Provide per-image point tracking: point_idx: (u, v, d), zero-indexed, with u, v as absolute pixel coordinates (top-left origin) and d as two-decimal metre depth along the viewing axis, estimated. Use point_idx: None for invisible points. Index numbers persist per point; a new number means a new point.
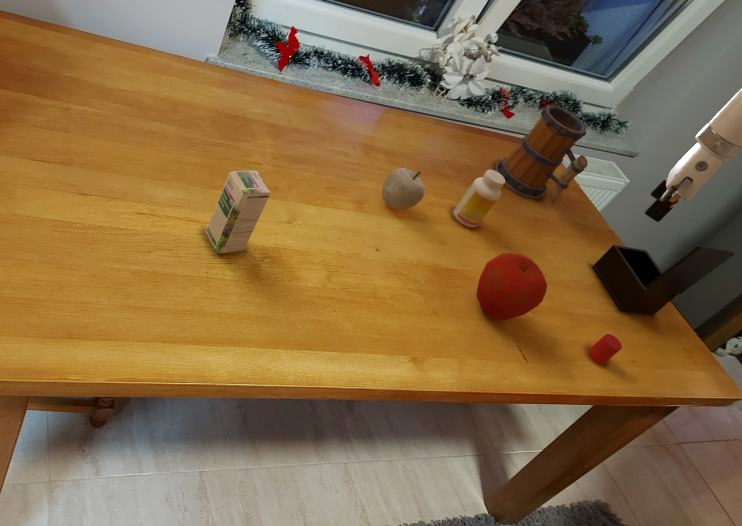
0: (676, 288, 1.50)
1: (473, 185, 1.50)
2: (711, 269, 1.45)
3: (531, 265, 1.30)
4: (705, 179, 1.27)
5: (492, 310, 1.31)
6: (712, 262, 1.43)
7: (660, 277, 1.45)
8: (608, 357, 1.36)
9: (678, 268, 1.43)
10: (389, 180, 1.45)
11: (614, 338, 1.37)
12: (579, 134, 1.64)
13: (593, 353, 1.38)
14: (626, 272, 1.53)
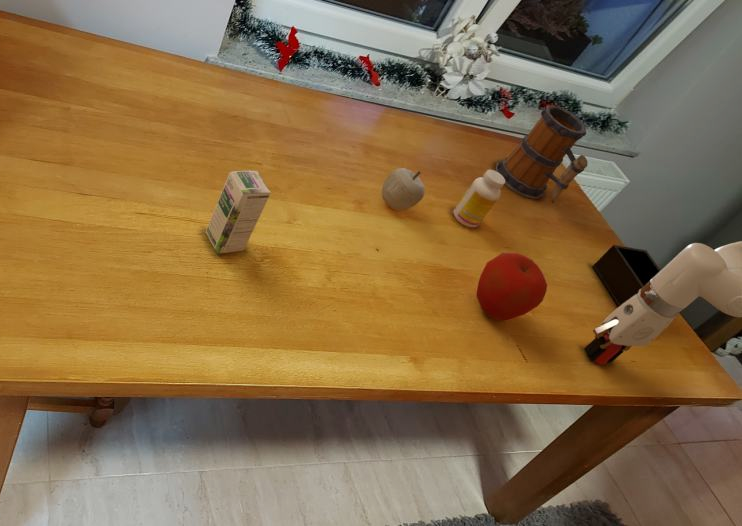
0: None
1: (473, 185, 1.50)
2: None
3: (531, 265, 1.30)
4: (628, 324, 1.27)
5: (492, 310, 1.31)
6: None
7: None
8: (608, 357, 1.36)
9: None
10: (389, 180, 1.45)
11: None
12: (579, 134, 1.64)
13: None
14: (626, 272, 1.53)
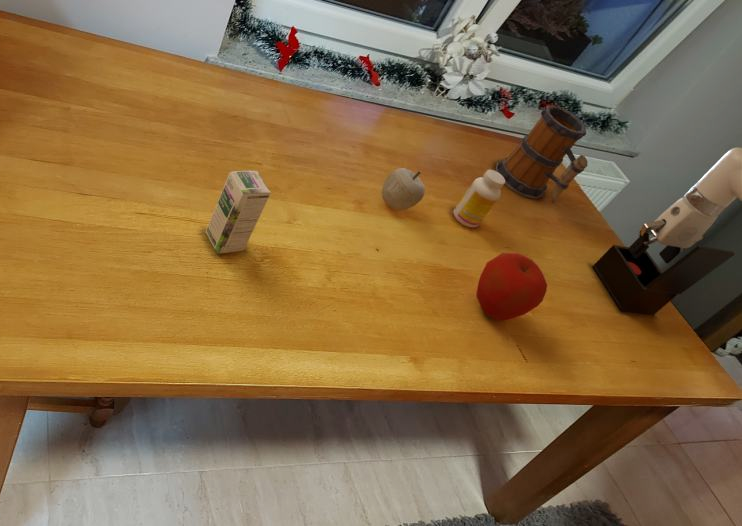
0: (676, 288, 1.50)
1: (473, 185, 1.50)
2: (711, 269, 1.45)
3: (531, 265, 1.30)
4: (675, 223, 1.44)
5: (492, 310, 1.31)
6: (712, 262, 1.43)
7: (660, 277, 1.45)
8: None
9: (678, 268, 1.43)
10: (389, 180, 1.45)
11: (634, 265, 1.59)
12: (579, 134, 1.64)
13: None
14: (626, 272, 1.53)
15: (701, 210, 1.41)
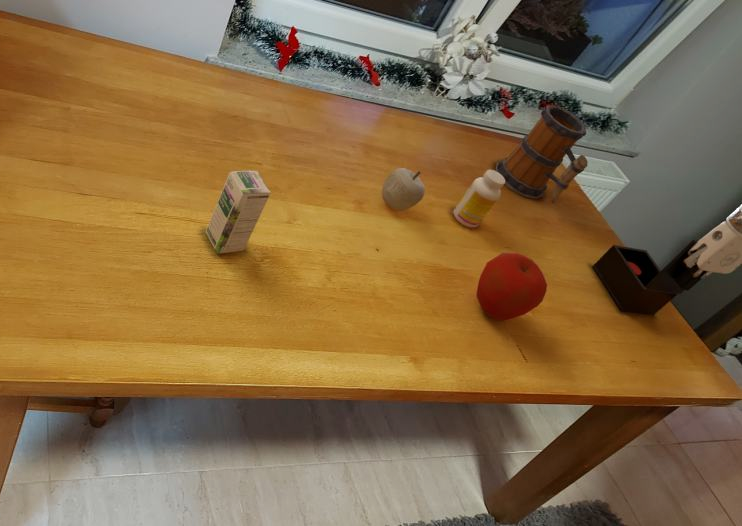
0: (676, 287, 1.50)
1: (473, 185, 1.50)
2: None
3: (531, 265, 1.30)
4: (717, 249, 1.35)
5: (492, 310, 1.31)
6: None
7: (659, 275, 1.46)
8: None
9: (676, 264, 1.43)
10: (389, 180, 1.45)
11: (634, 265, 1.59)
12: (579, 134, 1.64)
13: None
14: (626, 272, 1.53)
15: None
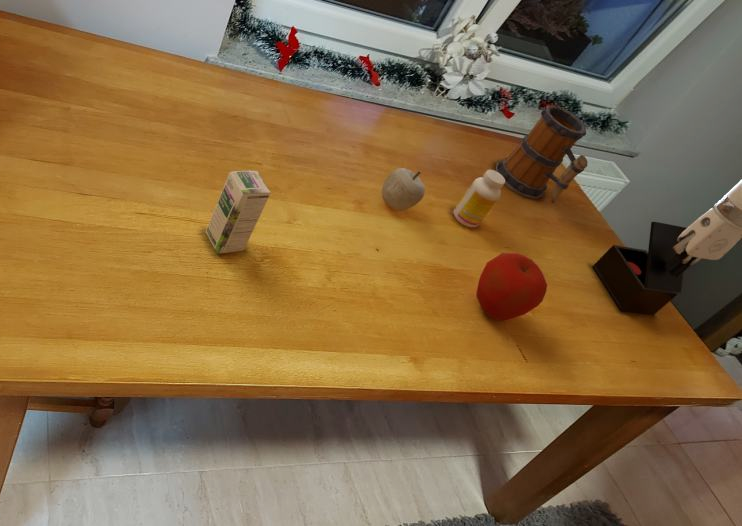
0: (672, 283, 1.51)
1: (473, 185, 1.50)
2: None
3: (531, 265, 1.30)
4: (705, 235, 1.38)
5: (492, 310, 1.31)
6: (677, 241, 1.51)
7: (648, 269, 1.48)
8: None
9: (654, 252, 1.49)
10: (389, 180, 1.45)
11: (634, 265, 1.59)
12: (579, 134, 1.64)
13: None
14: (626, 272, 1.53)
15: (733, 221, 1.35)
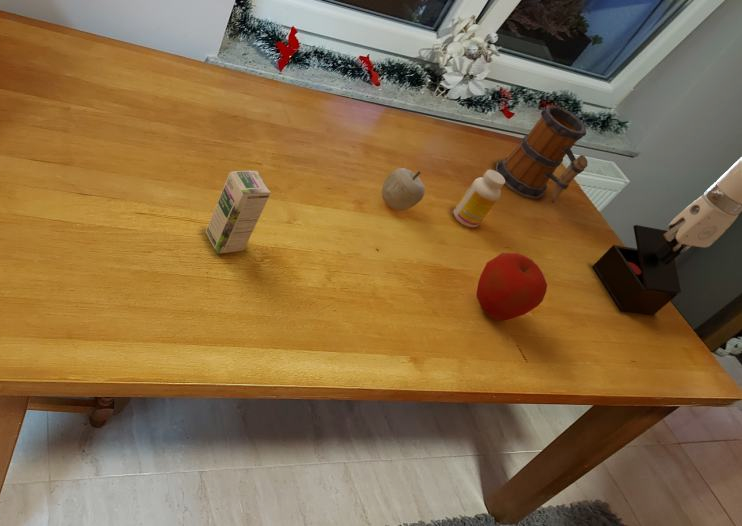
0: (669, 283, 1.51)
1: (473, 185, 1.50)
2: None
3: (531, 265, 1.30)
4: (695, 222, 1.40)
5: (492, 310, 1.31)
6: (662, 243, 1.54)
7: (643, 269, 1.49)
8: None
9: (644, 253, 1.51)
10: (389, 180, 1.45)
11: (634, 265, 1.59)
12: (579, 134, 1.64)
13: None
14: (626, 272, 1.53)
15: (722, 208, 1.37)
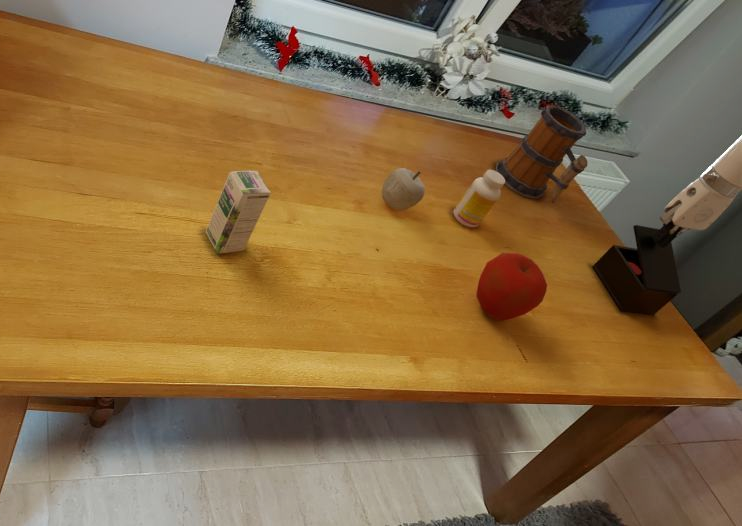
0: (669, 283, 1.51)
1: (473, 185, 1.50)
2: (671, 252, 1.54)
3: (531, 265, 1.30)
4: (691, 204, 1.41)
5: (492, 310, 1.31)
6: None
7: (643, 269, 1.49)
8: None
9: (644, 253, 1.51)
10: (389, 180, 1.45)
11: (634, 265, 1.59)
12: (579, 134, 1.64)
13: None
14: (626, 272, 1.53)
15: (718, 191, 1.38)
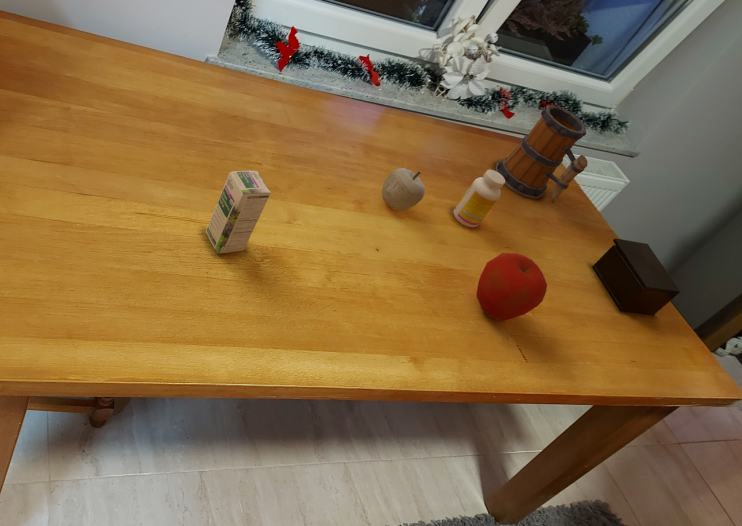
0: (666, 284, 1.52)
1: (473, 185, 1.50)
2: (657, 260, 1.58)
3: (531, 265, 1.30)
4: None
5: (492, 310, 1.31)
6: (645, 252, 1.58)
7: (636, 273, 1.51)
8: None
9: (632, 260, 1.54)
10: (389, 180, 1.45)
11: None
12: (579, 134, 1.64)
13: None
14: (626, 272, 1.53)
15: None
